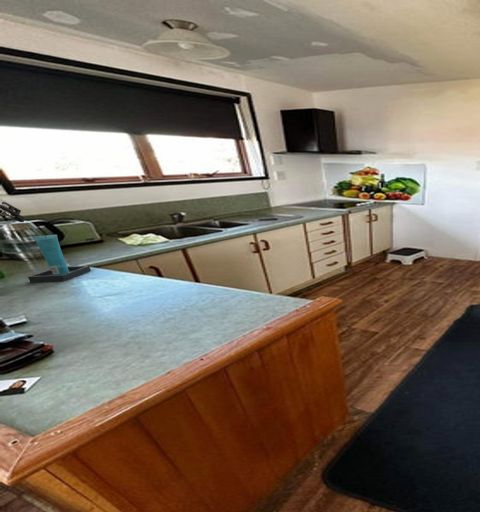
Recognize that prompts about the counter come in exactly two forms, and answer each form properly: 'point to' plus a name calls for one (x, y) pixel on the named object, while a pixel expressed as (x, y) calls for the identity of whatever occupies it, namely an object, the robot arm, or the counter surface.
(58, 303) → the counter surface
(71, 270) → the tray
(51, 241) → the tube
